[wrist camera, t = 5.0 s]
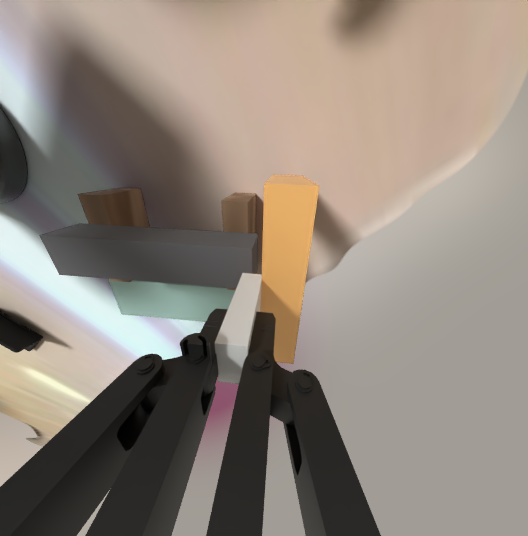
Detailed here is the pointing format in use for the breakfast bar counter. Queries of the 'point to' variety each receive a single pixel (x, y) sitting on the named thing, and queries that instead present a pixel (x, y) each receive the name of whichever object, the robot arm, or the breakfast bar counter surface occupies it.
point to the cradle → (134, 214)
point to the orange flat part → (286, 255)
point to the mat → (170, 299)
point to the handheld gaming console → (16, 335)
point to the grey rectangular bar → (153, 254)
